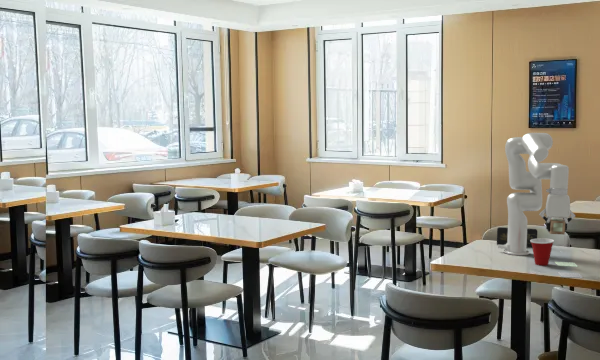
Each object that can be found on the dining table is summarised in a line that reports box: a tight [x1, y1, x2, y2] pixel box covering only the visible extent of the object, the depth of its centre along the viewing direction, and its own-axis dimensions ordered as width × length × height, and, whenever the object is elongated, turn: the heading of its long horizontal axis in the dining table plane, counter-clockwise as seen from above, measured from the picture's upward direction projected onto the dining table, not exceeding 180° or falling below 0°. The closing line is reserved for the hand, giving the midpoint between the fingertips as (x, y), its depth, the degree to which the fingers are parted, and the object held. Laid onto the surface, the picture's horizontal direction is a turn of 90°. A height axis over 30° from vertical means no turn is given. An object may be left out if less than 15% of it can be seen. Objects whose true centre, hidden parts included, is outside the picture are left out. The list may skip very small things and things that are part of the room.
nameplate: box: [496, 226, 538, 248], centre depth 359 cm, size 21×2×10 cm, turn 77°
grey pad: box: [557, 271, 584, 279], centre depth 290 cm, size 9×9×1 cm
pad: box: [554, 261, 579, 268], centre depth 313 cm, size 9×9×1 cm
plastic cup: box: [530, 237, 555, 267], centre depth 312 cm, size 11×11×12 cm
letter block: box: [548, 218, 566, 235], centre depth 297 cm, size 6×6×6 cm
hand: (556, 231), depth 297 cm, fingers closed on letter block, 6 cm apart
